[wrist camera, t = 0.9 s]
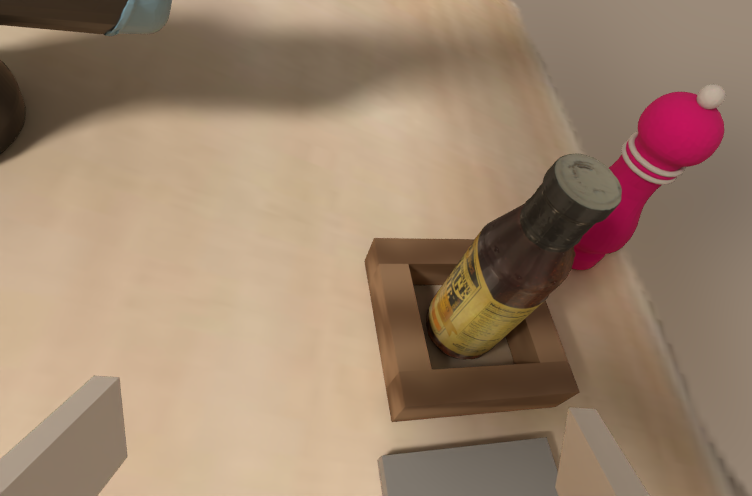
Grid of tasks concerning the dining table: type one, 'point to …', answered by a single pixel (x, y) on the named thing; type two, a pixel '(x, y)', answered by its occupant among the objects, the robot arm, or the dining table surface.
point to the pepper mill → (655, 163)
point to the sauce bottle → (520, 258)
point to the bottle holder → (454, 385)
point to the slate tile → (472, 471)
